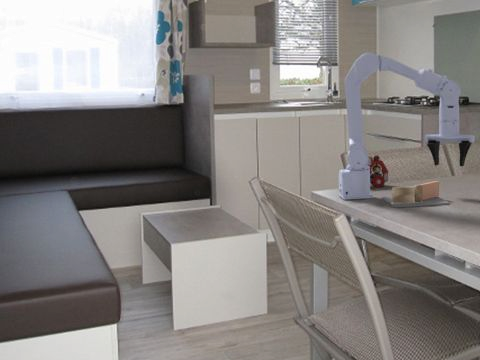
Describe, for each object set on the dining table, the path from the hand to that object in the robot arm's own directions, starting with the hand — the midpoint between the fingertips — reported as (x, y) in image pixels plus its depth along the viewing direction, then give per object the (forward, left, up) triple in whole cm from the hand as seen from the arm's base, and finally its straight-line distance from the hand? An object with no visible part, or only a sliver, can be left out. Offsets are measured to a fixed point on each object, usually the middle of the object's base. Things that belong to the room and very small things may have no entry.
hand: (449, 165), depth 214 cm
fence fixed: (-16, -10, -9) cm, 20 cm away
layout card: (-13, -6, -9) cm, 17 cm away
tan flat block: (-8, -6, -8) cm, 13 cm away
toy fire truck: (-19, +24, -10) cm, 31 cm away
